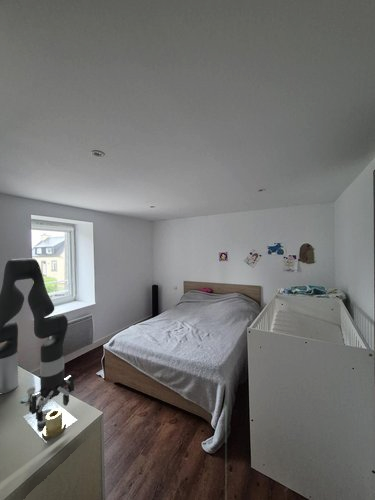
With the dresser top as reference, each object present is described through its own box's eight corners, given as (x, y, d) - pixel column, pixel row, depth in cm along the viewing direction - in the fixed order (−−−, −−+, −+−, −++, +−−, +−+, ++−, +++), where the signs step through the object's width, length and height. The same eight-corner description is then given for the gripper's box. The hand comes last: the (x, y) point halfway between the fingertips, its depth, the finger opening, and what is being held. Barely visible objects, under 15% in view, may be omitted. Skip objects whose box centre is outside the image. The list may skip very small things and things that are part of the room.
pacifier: (21, 400, 94) (21, 407, 89) (20, 386, 94) (20, 392, 89) (40, 392, 98) (41, 398, 94) (40, 379, 98) (41, 385, 94)
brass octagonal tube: (39, 432, 74) (39, 416, 74) (59, 419, 80) (59, 404, 80) (47, 441, 70) (47, 424, 71) (68, 427, 76) (68, 411, 76)
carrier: (22, 419, 82) (22, 407, 82) (52, 402, 91) (52, 390, 91) (45, 445, 70) (45, 431, 70) (77, 422, 80) (76, 409, 80)
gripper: (67, 357, 83) (68, 396, 84) (25, 376, 72) (26, 421, 72) (76, 363, 79) (77, 403, 79) (34, 383, 67) (35, 431, 67)
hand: (53, 412), depth 75 cm, fingers open, 8 cm apart
